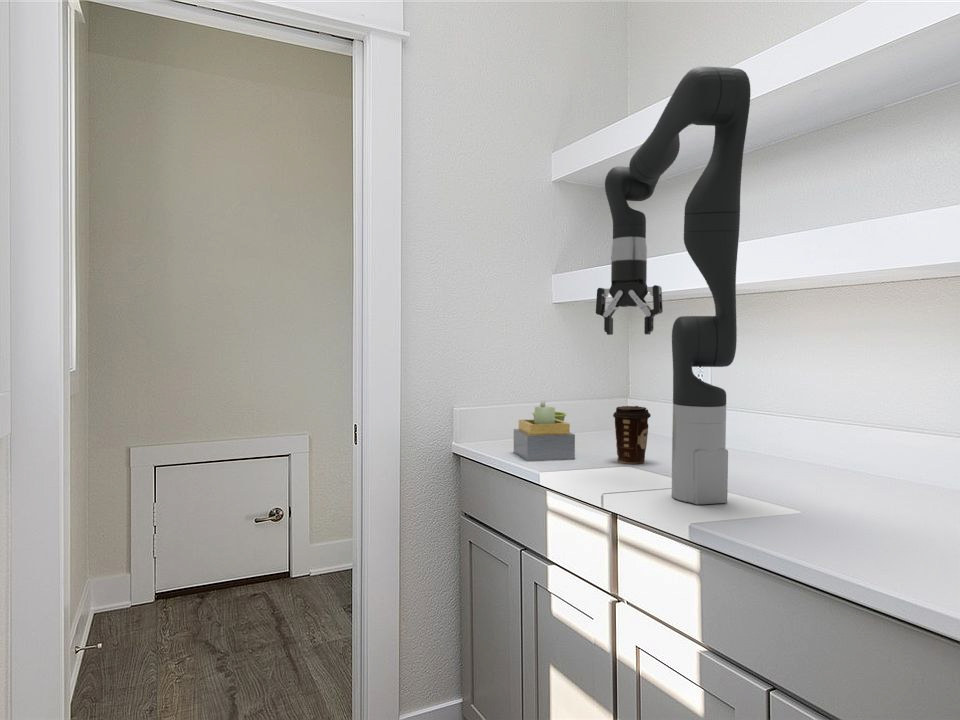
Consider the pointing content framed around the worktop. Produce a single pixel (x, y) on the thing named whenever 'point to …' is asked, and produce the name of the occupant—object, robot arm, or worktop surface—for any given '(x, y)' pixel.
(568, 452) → the open square metal box
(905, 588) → the worktop surface
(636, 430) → the coffee cup
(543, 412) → the spout can
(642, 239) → the robot arm
